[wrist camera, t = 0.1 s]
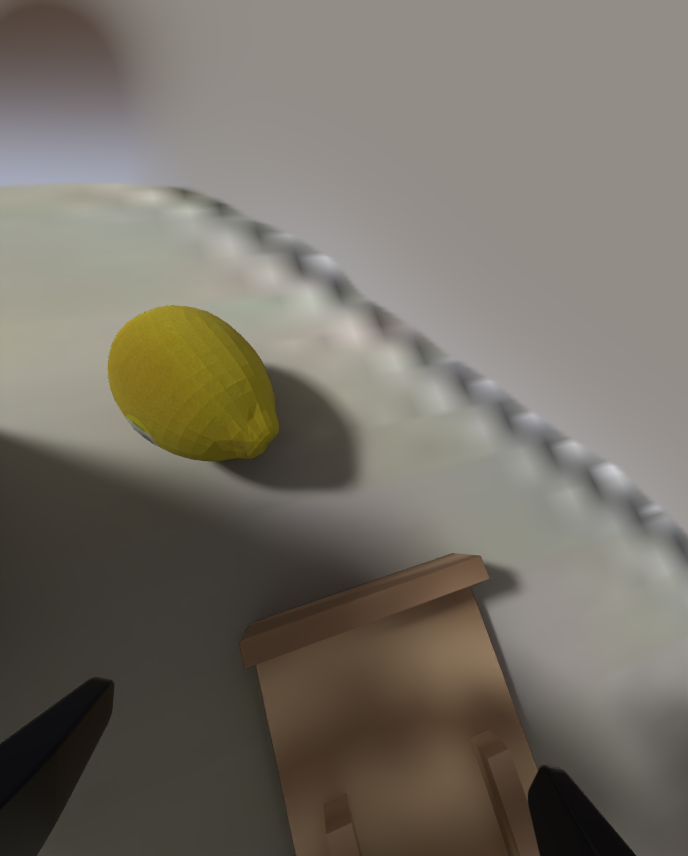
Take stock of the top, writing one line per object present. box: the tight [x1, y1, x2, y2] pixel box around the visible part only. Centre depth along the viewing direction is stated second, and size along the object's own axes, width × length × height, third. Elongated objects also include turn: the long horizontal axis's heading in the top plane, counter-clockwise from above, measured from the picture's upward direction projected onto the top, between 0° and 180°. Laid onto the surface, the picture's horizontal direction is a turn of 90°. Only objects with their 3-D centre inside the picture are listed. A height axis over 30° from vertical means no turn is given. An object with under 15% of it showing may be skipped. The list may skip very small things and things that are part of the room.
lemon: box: [108, 305, 279, 461], centre depth 21 cm, size 11×8×8 cm
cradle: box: [239, 553, 540, 856], centre depth 19 cm, size 14×13×4 cm
